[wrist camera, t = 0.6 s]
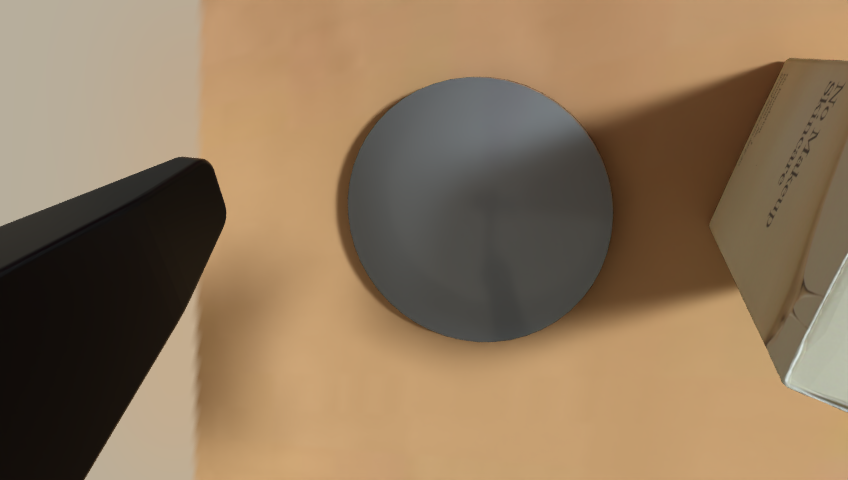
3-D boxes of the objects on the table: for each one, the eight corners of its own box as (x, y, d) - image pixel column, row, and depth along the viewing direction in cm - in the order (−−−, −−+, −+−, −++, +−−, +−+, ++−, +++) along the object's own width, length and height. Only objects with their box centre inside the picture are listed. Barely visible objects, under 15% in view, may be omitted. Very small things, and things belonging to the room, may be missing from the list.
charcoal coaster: (505, 382, 27) (501, 391, 26) (312, 231, 28) (303, 236, 27) (673, 187, 24) (674, 191, 23) (446, 21, 24) (440, 19, 24)
